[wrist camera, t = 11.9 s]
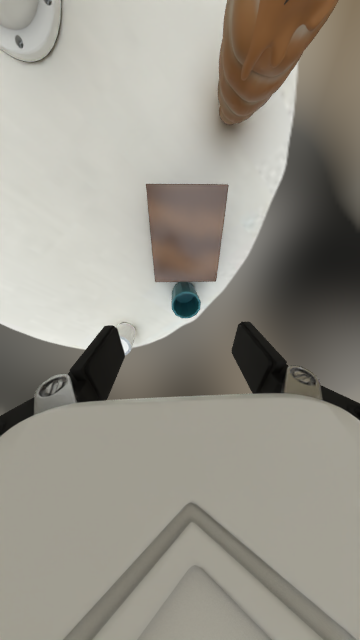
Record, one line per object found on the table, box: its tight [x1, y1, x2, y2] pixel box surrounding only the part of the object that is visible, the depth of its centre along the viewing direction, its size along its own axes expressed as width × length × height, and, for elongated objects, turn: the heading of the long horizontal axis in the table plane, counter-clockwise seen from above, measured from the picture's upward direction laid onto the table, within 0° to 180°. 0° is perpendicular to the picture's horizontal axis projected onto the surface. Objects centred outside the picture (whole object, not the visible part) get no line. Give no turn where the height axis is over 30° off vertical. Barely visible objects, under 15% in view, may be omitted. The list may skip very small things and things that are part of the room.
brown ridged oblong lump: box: [218, 0, 338, 125], centre depth 13 cm, size 9×8×18 cm
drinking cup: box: [172, 282, 201, 318], centre depth 31 cm, size 8×6×6 cm
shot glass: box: [116, 323, 136, 355], centre depth 37 cm, size 7×7×7 cm
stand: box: [146, 184, 228, 282], centre depth 26 cm, size 14×12×7 cm
